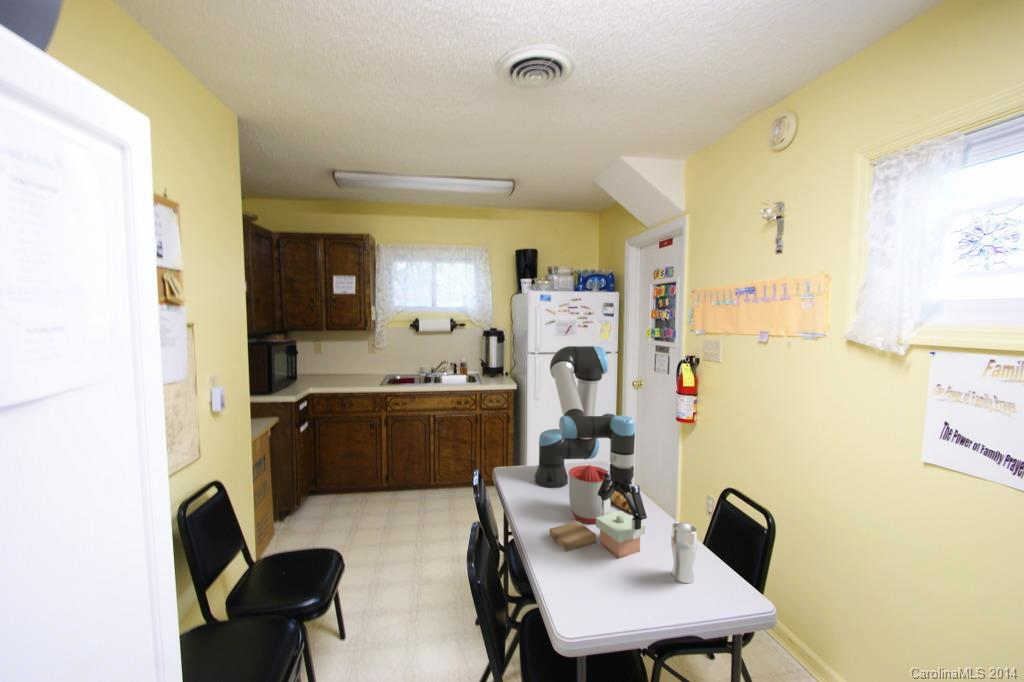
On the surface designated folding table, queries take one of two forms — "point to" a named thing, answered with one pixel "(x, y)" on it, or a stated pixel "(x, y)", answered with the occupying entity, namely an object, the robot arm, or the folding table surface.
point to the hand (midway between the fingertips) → (620, 528)
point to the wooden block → (572, 536)
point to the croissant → (620, 501)
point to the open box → (619, 545)
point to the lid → (617, 525)
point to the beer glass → (683, 551)
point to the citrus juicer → (586, 492)
